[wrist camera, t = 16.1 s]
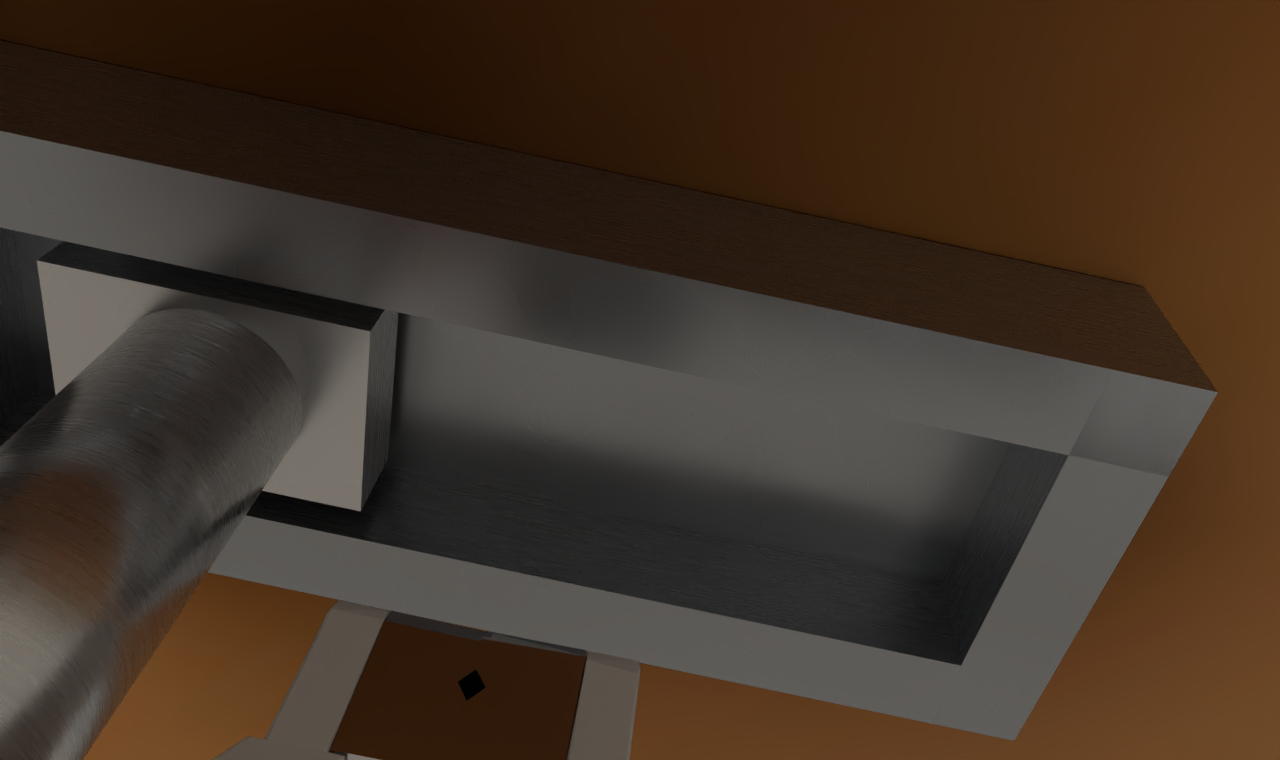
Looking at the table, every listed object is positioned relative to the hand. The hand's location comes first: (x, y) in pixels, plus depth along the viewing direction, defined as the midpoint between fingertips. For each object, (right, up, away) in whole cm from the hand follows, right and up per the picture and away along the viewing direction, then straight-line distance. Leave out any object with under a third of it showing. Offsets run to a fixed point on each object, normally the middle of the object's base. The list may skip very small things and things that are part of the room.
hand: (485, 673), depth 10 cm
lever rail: (0, +3, +5) cm, 6 cm away
